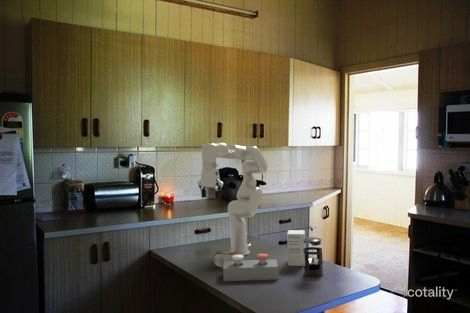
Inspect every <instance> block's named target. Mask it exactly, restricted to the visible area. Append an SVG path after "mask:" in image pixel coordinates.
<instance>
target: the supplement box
mask: <svg viewBox="0 0 470 313" xmlns="http://www.w3.org/2000/svg"><path fill="white" fill-rule="evenodd" d="M304 238H306V230H305V229H300V230H299V229H297V230H296V229H293V230H292V229H291V230H289V229H288V230H287V233H286V243H287V244H286V245H287V266H289V267H290V266H292V267H293V266H294V267H297V266H299V267H304V266H305V261H304V260H305V253H304V252H303V249H304V248H307V247H306V243H304V241H303V239H304Z"/></svg>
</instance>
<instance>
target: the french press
mask: <svg viewBox="0 0 470 313" xmlns="http://www.w3.org/2000/svg"><path fill="white" fill-rule="evenodd" d="M306 228H307V229H309V230H310V231H311V232H313V231H314V229H316V228H317V227H316V226H307V227H306ZM303 241H304V243H305V244H306V243H309V244H311V246H309V247H306V248H304V249H303V252H304V253H305V260H304V261H305V266H303V275H304V276H306V277H308V278H319V277H323V276H324V267H323V247H320V245H321V244H322V241H323V240H322V238H321V237H315V236H311V237H310V236H309V237H305V238H304V239H303ZM316 246H317V247H316ZM309 255H312V256H314V255H315V256H316V258H314V257H312V258H311V257H310V256H309Z"/></svg>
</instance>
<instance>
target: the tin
mask: <svg viewBox="0 0 470 313" xmlns="http://www.w3.org/2000/svg"><path fill="white" fill-rule="evenodd" d="M233 255H238V254H237V253H236V252H229V251H226V250H219V251H216V252H215V253H214V254H213V256H212V263H213V264H214V265H215V267H217V268H220V269H223V266H224V262H225V261H235V260H233V259H232V256H233Z"/></svg>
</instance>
